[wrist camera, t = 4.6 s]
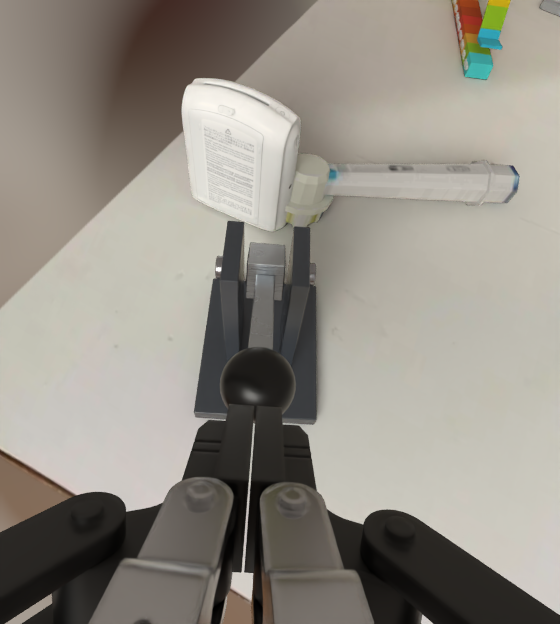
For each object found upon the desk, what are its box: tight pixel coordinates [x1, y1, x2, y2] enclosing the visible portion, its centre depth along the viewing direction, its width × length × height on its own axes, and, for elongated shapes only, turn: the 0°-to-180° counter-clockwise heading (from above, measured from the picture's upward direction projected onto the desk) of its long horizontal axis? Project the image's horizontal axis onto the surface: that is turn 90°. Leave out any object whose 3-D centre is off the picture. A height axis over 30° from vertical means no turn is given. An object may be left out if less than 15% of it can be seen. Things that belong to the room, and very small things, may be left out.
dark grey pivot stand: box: [194, 221, 316, 425], centre depth 31 cm, size 12×9×13 cm
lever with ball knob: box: [220, 242, 296, 423], centre depth 23 cm, size 13×3×3 cm, turn 178°
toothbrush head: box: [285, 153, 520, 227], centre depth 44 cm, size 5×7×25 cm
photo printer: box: [182, 78, 301, 232], centre depth 39 cm, size 10×4×12 cm, turn 64°
